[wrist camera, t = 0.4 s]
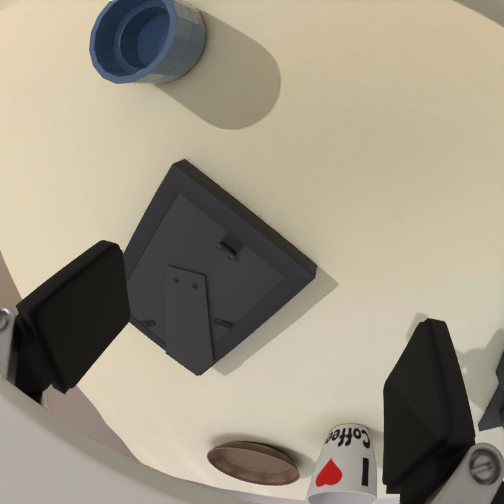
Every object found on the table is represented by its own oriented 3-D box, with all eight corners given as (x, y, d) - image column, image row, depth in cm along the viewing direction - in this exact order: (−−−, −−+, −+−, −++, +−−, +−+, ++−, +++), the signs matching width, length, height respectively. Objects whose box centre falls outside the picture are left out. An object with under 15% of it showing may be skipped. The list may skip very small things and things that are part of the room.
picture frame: (206, 363, 33) (317, 265, 24) (198, 378, 31) (314, 280, 22) (112, 289, 32) (184, 157, 23) (100, 300, 30) (170, 163, 21)
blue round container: (134, 9, 18) (95, -2, 14) (213, -2, 17) (182, -22, 12) (127, 85, 21) (86, 87, 17) (204, 83, 20) (171, 80, 16)
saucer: (290, 480, 44) (287, 492, 42) (211, 459, 47) (206, 470, 44) (313, 448, 37) (310, 464, 35) (213, 422, 40) (207, 437, 37)
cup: (385, 416, 31) (383, 490, 22) (375, 447, 34) (370, 509, 26) (318, 416, 33) (305, 488, 25) (318, 446, 37) (305, 508, 28)
